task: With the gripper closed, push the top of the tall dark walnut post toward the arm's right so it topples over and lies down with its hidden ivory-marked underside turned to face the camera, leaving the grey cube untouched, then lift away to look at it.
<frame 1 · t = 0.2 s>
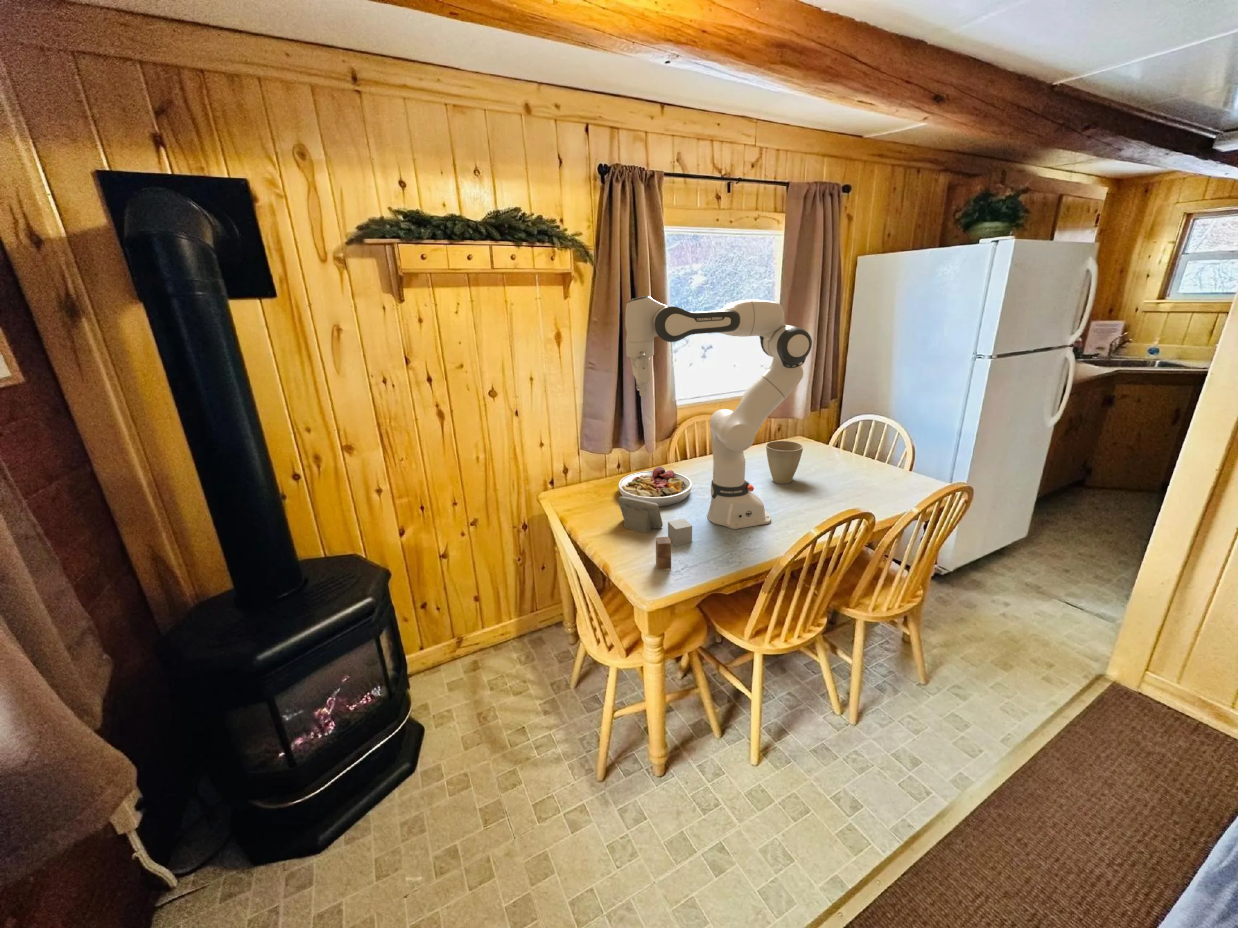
hand: (641, 393, 157), 48 cm above the table, fingers open, 8 cm apart
grey cube: (679, 539, 160), on the table
plant pot: (781, 480, 206), on the table
digital clock: (640, 526, 171), on the table
walnut post: (663, 566, 145), on the table
bowl: (655, 494, 198), on the table
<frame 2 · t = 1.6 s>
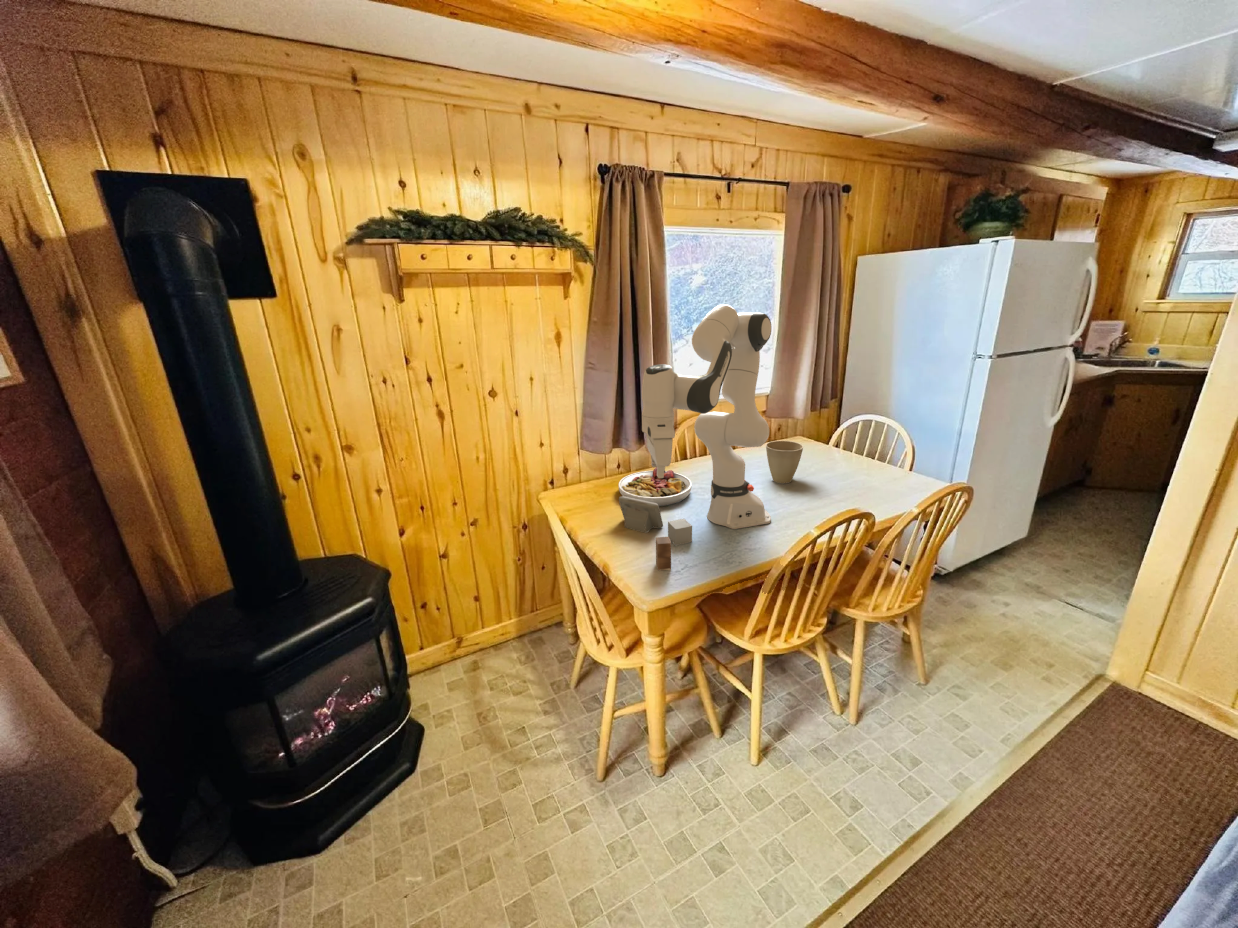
hand: (657, 471, 136), 30 cm above the table, fingers open, 8 cm apart
nothing on the table moved.
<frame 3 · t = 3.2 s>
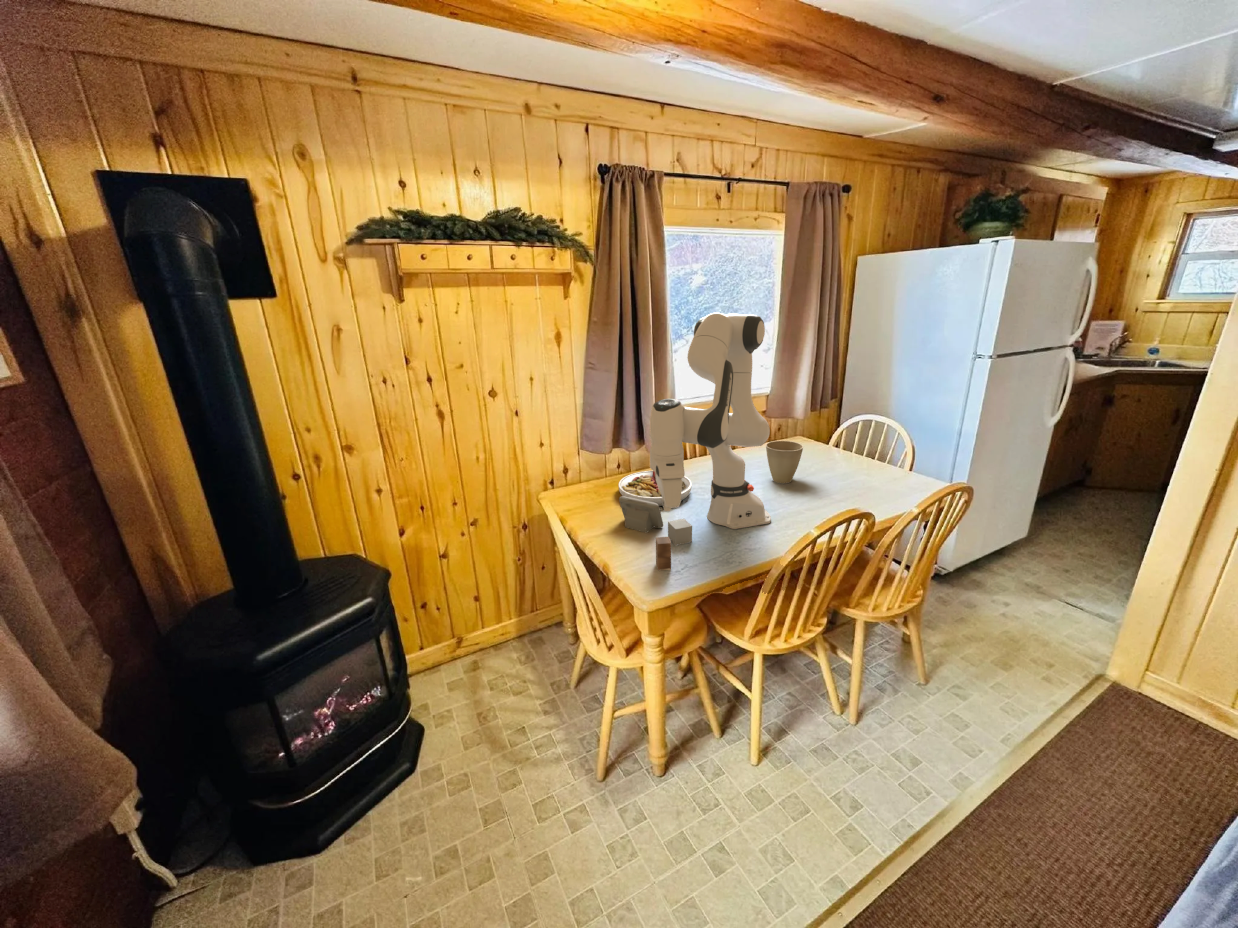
hand: (666, 508, 131), 22 cm above the table, fingers closed
nothing on the table moved.
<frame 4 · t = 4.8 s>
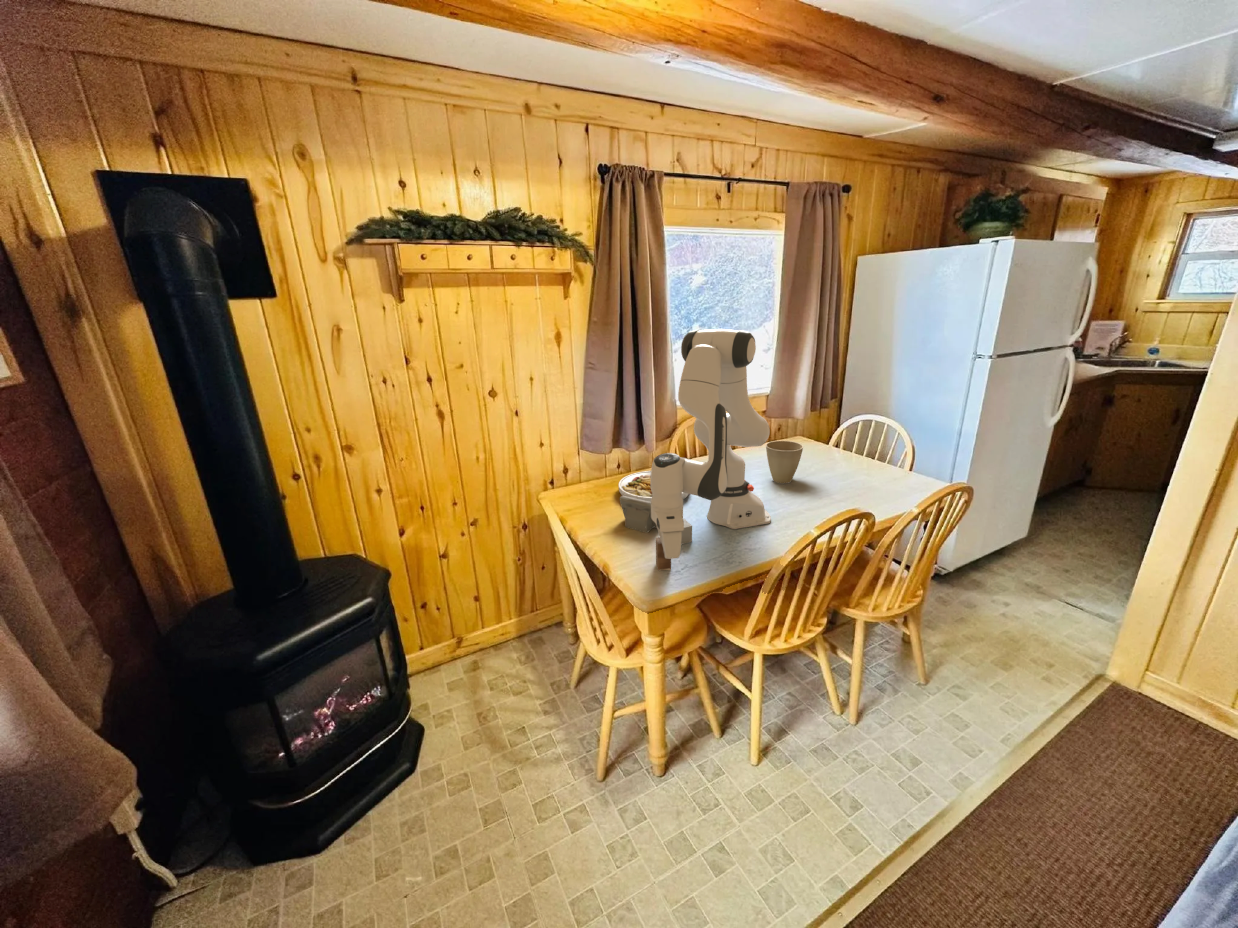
hand: (667, 555, 136), 8 cm above the table, fingers closed
nothing on the table moved.
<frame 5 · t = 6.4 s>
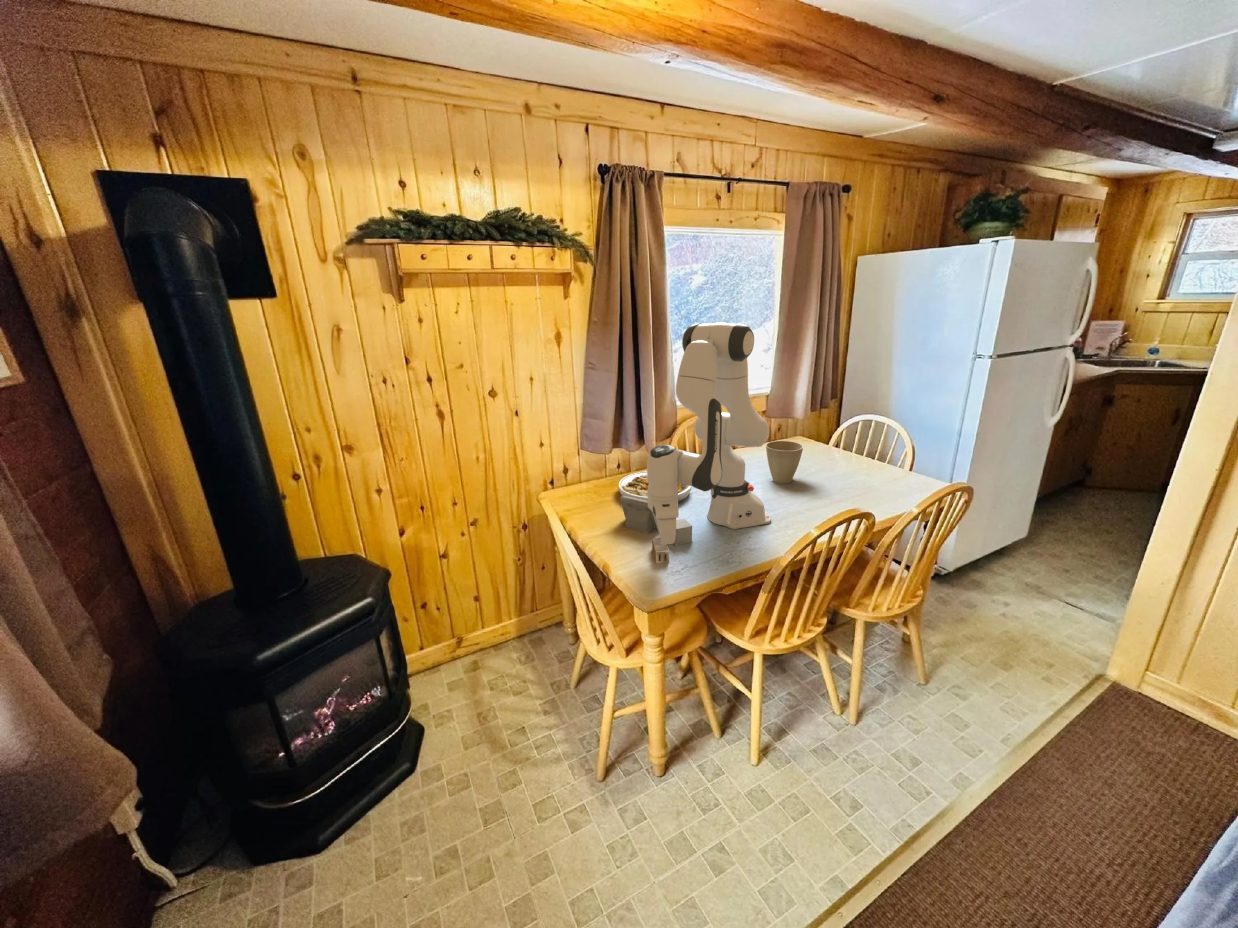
hand: (663, 542, 144), 7 cm above the table, fingers closed
walnut post: (662, 557, 146), point 2 cm above the table, tilted 90°
everything else where it was.
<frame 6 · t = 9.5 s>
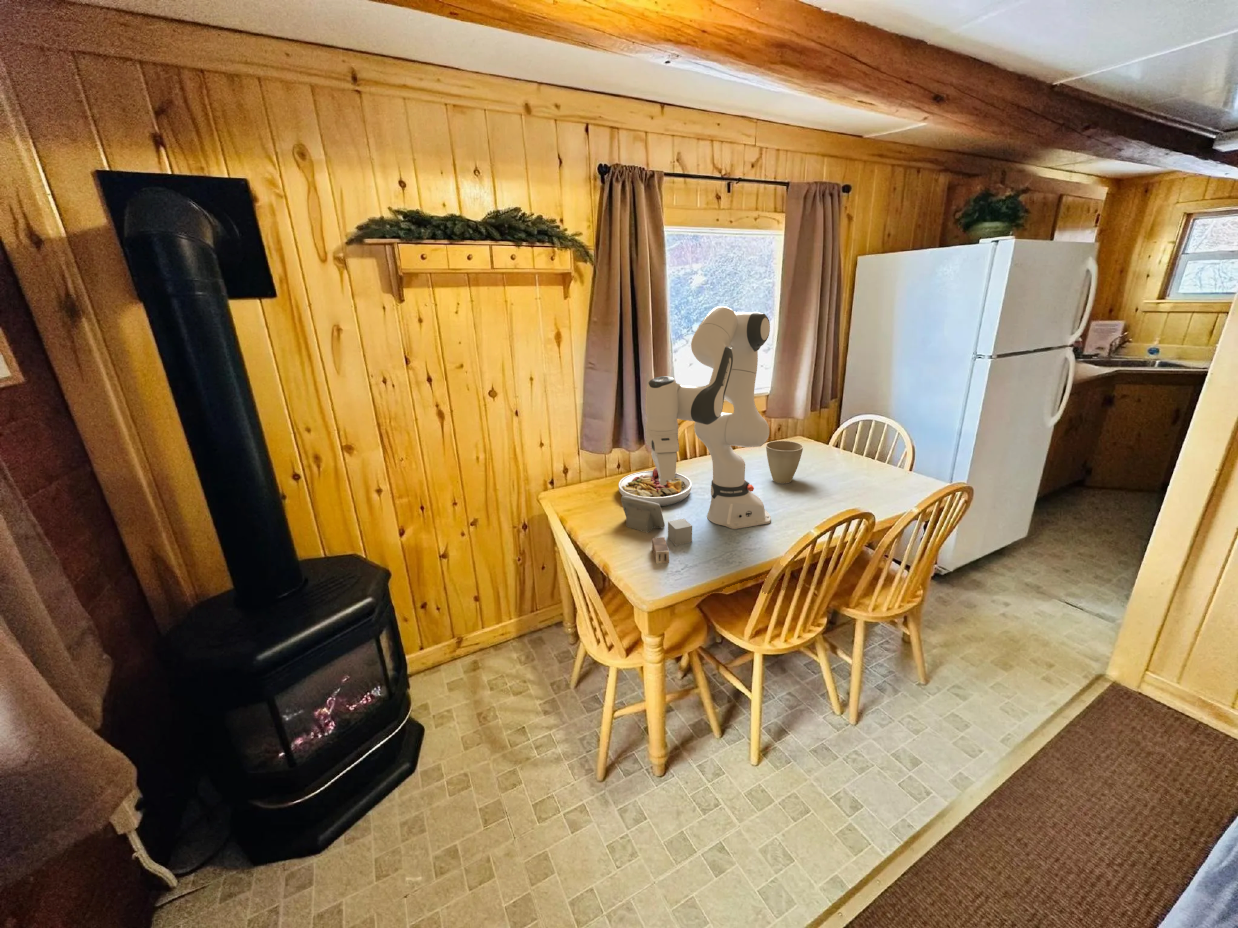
hand: (662, 483, 136), 27 cm above the table, fingers closed
nothing on the table moved.
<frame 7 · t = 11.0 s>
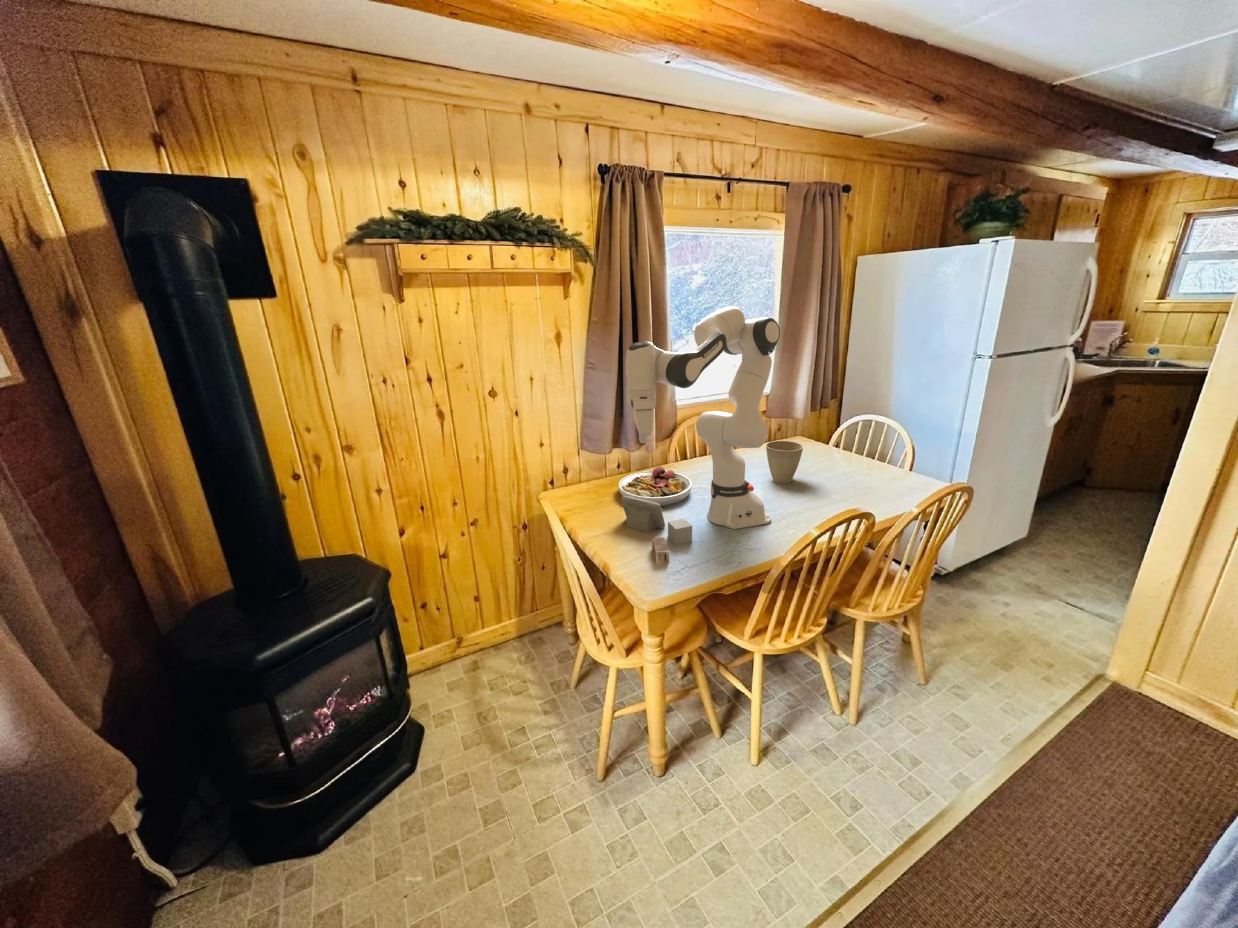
hand: (642, 441, 148), 35 cm above the table, fingers closed
nothing on the table moved.
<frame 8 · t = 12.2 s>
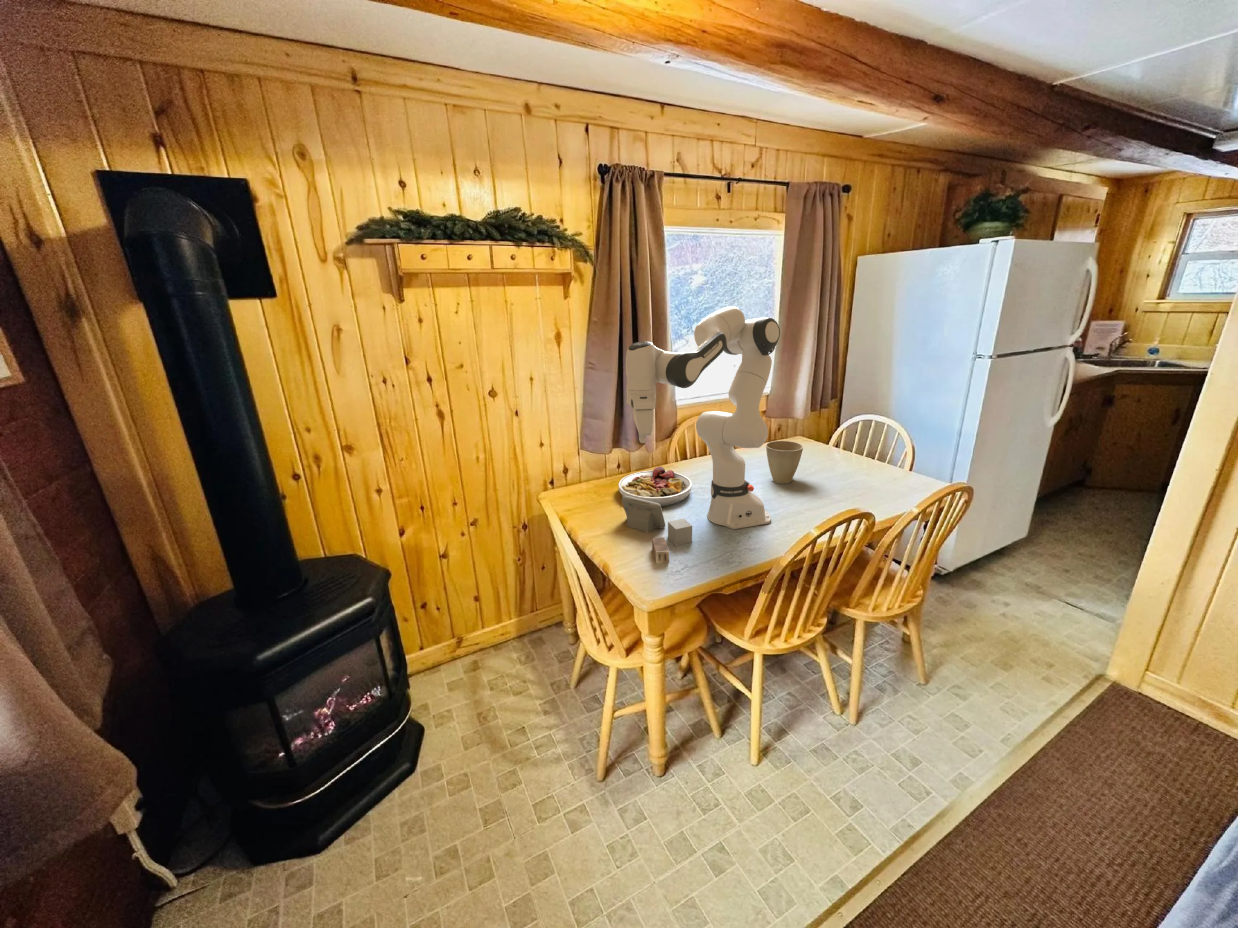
hand: (642, 441, 148), 35 cm above the table, fingers closed
at the end: walnut post tilted 90°; walnut post inside the target area (2.5 cm from its centre), point 1.9 cm above the table; grey cube moved 0.1 cm from its start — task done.
